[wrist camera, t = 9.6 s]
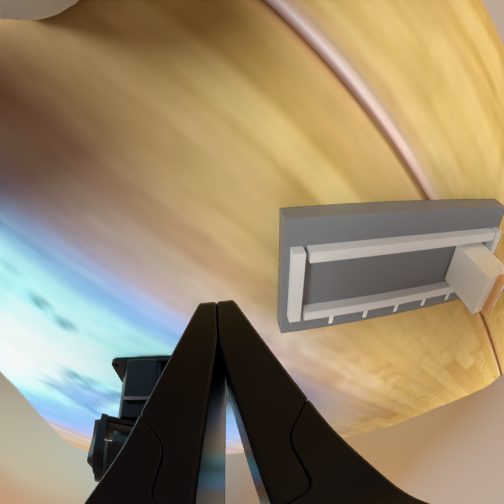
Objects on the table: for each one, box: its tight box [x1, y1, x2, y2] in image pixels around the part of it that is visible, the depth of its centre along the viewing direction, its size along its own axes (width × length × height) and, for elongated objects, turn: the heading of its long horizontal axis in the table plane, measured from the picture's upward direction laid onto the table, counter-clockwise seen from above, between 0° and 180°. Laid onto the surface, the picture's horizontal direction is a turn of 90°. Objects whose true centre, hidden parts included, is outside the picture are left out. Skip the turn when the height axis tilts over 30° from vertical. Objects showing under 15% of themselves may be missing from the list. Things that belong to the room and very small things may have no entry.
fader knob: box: [445, 242, 504, 316], centre depth 21 cm, size 4×3×5 cm
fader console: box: [277, 199, 504, 333], centre depth 23 cm, size 10×20×2 cm, turn 92°
